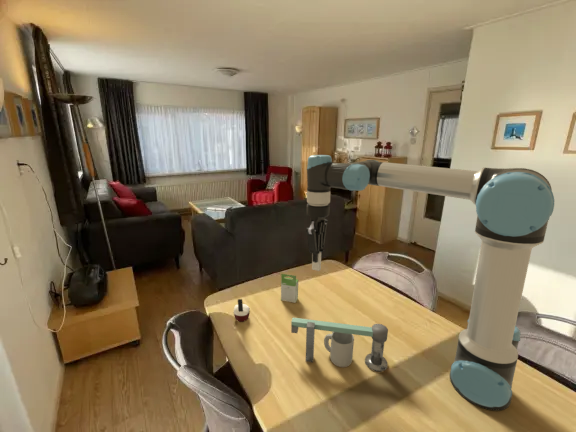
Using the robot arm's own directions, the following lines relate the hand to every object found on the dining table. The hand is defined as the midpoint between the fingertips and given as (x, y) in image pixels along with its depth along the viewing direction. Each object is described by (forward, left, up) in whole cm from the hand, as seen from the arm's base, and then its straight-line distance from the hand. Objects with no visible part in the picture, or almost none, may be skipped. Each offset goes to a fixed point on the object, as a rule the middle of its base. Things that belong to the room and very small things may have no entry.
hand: (316, 269), depth 98 cm
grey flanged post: (-23, -5, -27) cm, 36 cm away
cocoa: (+25, +16, -27) cm, 40 cm away
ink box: (+23, -8, -27) cm, 36 cm away
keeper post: (-8, +10, -27) cm, 29 cm away
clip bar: (-13, +3, -18) cm, 23 cm away
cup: (-13, +3, -27) cm, 30 cm away
